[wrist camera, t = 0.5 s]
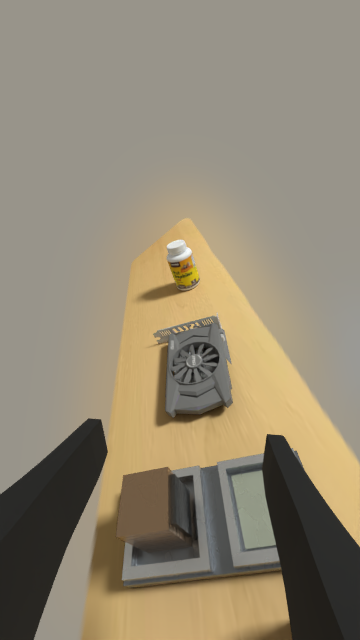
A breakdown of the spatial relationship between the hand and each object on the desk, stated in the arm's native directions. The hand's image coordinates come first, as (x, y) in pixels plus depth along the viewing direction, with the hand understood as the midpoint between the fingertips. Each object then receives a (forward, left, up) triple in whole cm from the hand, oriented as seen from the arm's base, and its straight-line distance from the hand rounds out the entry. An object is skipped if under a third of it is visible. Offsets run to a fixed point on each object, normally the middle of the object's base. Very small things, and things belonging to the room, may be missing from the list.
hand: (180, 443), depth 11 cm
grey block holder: (+1, +2, -18) cm, 18 cm away
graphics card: (+20, +3, -19) cm, 27 cm away
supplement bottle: (+45, +1, -18) cm, 49 cm away
